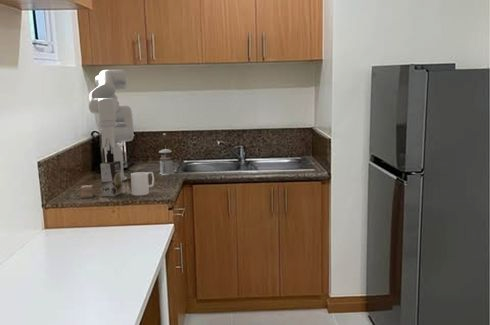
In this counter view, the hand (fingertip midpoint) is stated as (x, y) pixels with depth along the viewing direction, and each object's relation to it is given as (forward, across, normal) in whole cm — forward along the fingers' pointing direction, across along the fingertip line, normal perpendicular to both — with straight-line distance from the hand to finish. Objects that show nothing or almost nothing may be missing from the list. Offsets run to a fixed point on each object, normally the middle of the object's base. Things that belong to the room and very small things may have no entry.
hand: (110, 162), depth 228 cm
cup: (+16, +1, +15) cm, 22 cm away
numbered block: (+16, 0, -12) cm, 20 cm away
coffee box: (+16, 0, 0) cm, 16 cm away
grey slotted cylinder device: (+16, -54, +26) cm, 62 cm away
